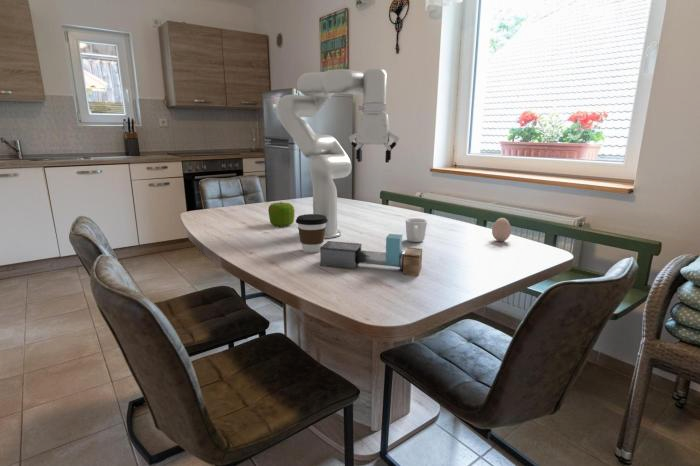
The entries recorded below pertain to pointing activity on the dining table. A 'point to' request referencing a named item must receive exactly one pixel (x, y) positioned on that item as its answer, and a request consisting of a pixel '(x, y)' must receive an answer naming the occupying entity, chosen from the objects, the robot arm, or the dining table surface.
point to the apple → (281, 214)
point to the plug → (390, 258)
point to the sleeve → (339, 254)
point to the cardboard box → (412, 261)
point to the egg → (501, 229)
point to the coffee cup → (311, 231)
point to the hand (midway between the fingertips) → (373, 161)
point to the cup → (415, 229)
